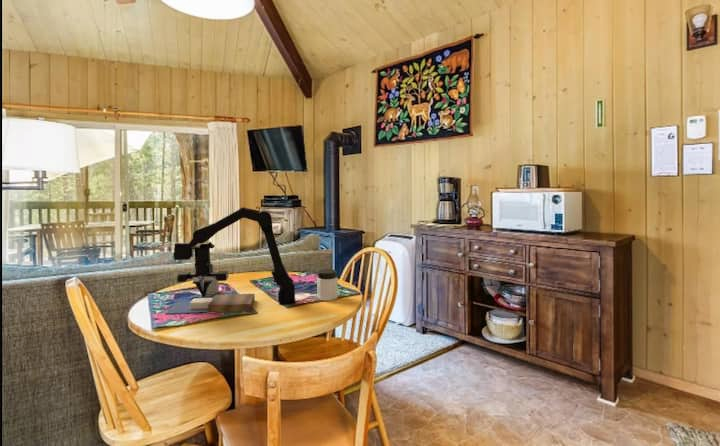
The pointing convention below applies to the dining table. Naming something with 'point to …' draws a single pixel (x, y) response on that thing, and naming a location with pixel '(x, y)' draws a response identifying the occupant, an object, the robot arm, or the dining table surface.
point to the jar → (327, 284)
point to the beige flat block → (200, 303)
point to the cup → (212, 285)
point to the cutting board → (231, 303)
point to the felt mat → (184, 308)
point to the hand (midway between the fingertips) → (204, 297)
